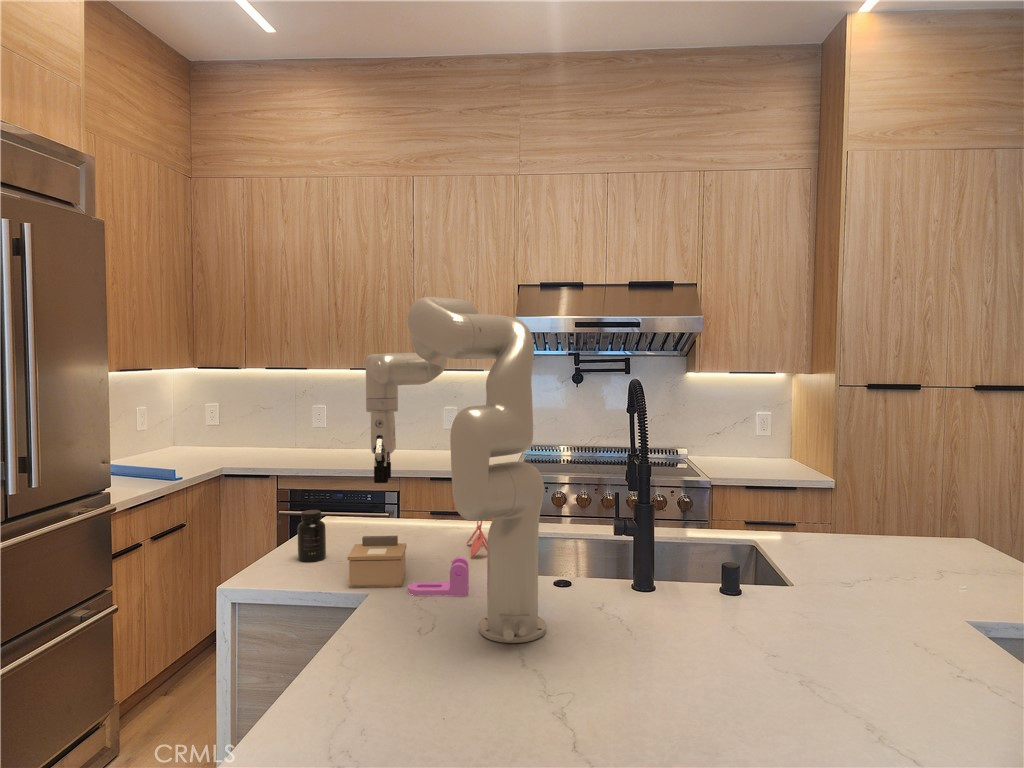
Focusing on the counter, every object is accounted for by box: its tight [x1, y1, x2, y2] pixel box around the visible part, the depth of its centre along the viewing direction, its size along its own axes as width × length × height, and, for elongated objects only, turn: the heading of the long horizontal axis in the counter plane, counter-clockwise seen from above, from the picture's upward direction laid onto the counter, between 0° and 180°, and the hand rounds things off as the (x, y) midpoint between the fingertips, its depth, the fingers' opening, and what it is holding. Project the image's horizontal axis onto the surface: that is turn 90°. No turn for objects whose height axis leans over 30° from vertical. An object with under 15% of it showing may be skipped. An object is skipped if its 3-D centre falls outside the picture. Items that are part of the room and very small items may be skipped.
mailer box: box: [348, 552, 406, 588], centre depth 157 cm, size 9×11×6 cm
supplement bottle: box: [297, 509, 327, 563], centre depth 173 cm, size 7×7×12 cm
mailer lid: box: [346, 535, 408, 561], centre depth 156 cm, size 10×12×3 cm
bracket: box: [407, 556, 470, 597], centre depth 149 cm, size 13×6×7 cm, turn 91°
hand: (382, 479), depth 165 cm, fingers open, 5 cm apart
